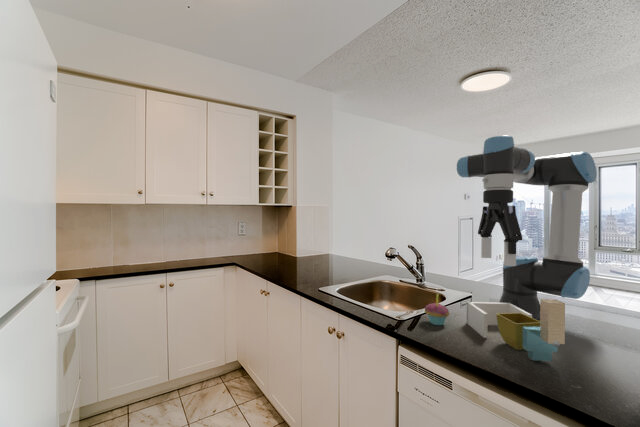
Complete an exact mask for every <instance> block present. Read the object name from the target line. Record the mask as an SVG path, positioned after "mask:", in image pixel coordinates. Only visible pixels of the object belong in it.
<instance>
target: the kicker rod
mask: <svg viewBox="0 0 640 427" xmlns="http://www.w3.org/2000/svg"><path fill="white" fill-rule="evenodd" d="M539 303H540V319H539V321H540V327H523V348H524V349H525V350H524V351H527V357H528V358H529V359H530V360H532V361H545V362H553V353H558V350H559V346H560V345H565V344H566V343H565V342H566V341H565V340H566V338H565V337H566V331H565V330H566V303H565V302H563V301H560V300H558V299H550V298H549V299H544V298H543V299H542V298H541V299H540V301H539Z"/></svg>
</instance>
